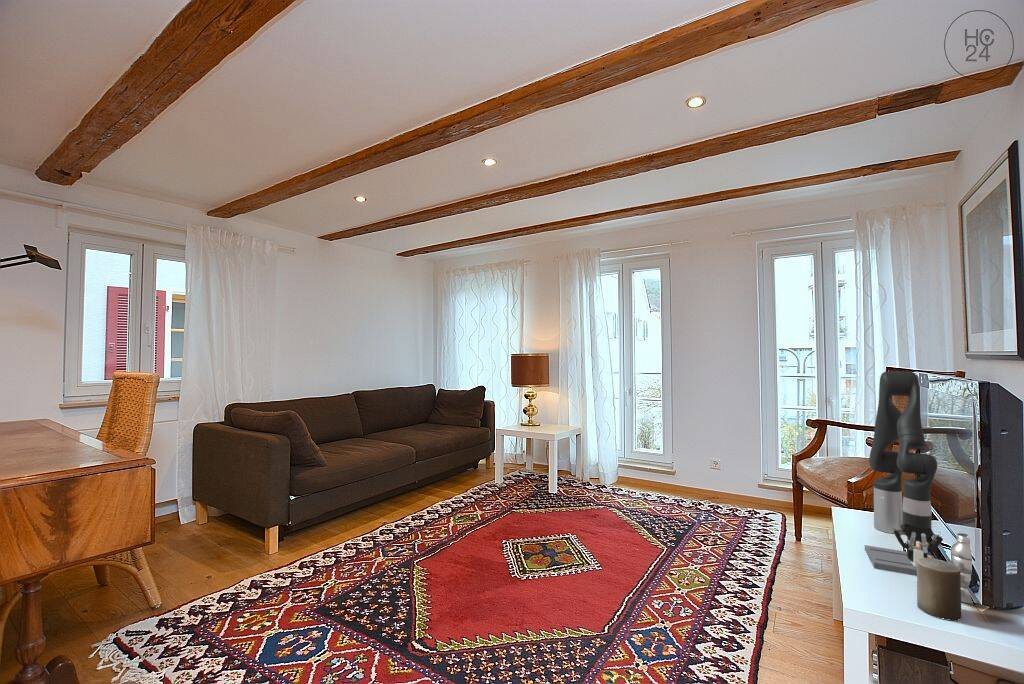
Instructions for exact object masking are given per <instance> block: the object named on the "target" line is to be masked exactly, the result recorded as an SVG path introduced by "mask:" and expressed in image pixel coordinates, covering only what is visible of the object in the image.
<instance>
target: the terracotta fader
mask: <svg viewBox="0 0 1024 684" xmlns="http://www.w3.org/2000/svg"><path fill="white" fill-rule="evenodd" d="M915 546H916V547H920V548H921V545H920V542H919V541H915ZM928 546H929V543H928V542H927V547H928ZM928 555H929V552H928V553H927V558H928Z"/></svg>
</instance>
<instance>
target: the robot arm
mask: <svg viewBox="0 0 1024 684" xmlns="http://www.w3.org/2000/svg"><path fill="white" fill-rule="evenodd" d="M919 383H920V382H919V378H918V376H917V374H916V373H915V372H913V371H903V370H902V371H898V370H897V371H892V370H891V371H884V372H882V373H881V375H880V377H879V384H878V385H879V387H878V388H879V390H878V405H877V411H876V417H875V423H874V434H873V441H872V444H871V449H870V451H869V457H868V463H869V464H868V465H869V467H870V469H871V470H872V471H873V472H878V473H887V474H889V475H887V476H885V477H882V478H881V477H880V478H877V479H874V480H873V527H874V529H876V530H877V531H881V532H883V533H889V534H894V536H895V538H896V539H897V541H898V542H899V545H901V547H902V548H903V549H906V552H907V557H908V559H910V561H912V562H913V561H914V551H913V546H915V544H916V541H919V542H920V545H921V549H922V550H923V558H927V553H928V554H929V553H935V552H936V550H937V549H938V547H940V545H941V543H942V542H943V540H944V539H943V537H942V536H941V535H939V534H936V533H934V530H933V529H932V513H933V511H932V504H931V503H932V502H931V488H932V484H933V480H934V478H935V475H936V473H937V471H938V470H937V469H938V461H937V459H936V458H935V456H933V455H931V454H928V453H921V452H919V453H918V452H910V451H911V450H912V451H913V450H919V449H923V448H924V447H925V446H926V439H925V434H924V430H923V425H922V419H921V418H922V417H921V414H922V413H921V395H920V393H921V392H920V384H919ZM892 396H894V397H895V396H896V397H898V396H899V397H908V402H907V405H906V407H905V408H904V410H903V412H902V411H900V409H899V408H898V407H897V406H896V405H895V404H894V402H893V401H892V399H891V397H892ZM897 441H898V443H899V444H898V445H899V446H898V451H896V450H887V447H889V446H890V445H893V444H894V443H896V442H897ZM903 473H906V474H915V475H920V476H919V477H916V478H912V479H910V478H909V479H905V480H904V481H903ZM902 489H903V490H902ZM902 493H903V494H902ZM903 533H904V535H905V536H906V537H907V538H906V542H904V539H903V538H902V537H901V536H902V535H903ZM929 539H932V541H931V542H930V543H929V544H928V547H927V543H928V542H927V541H928V540H929Z"/></svg>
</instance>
